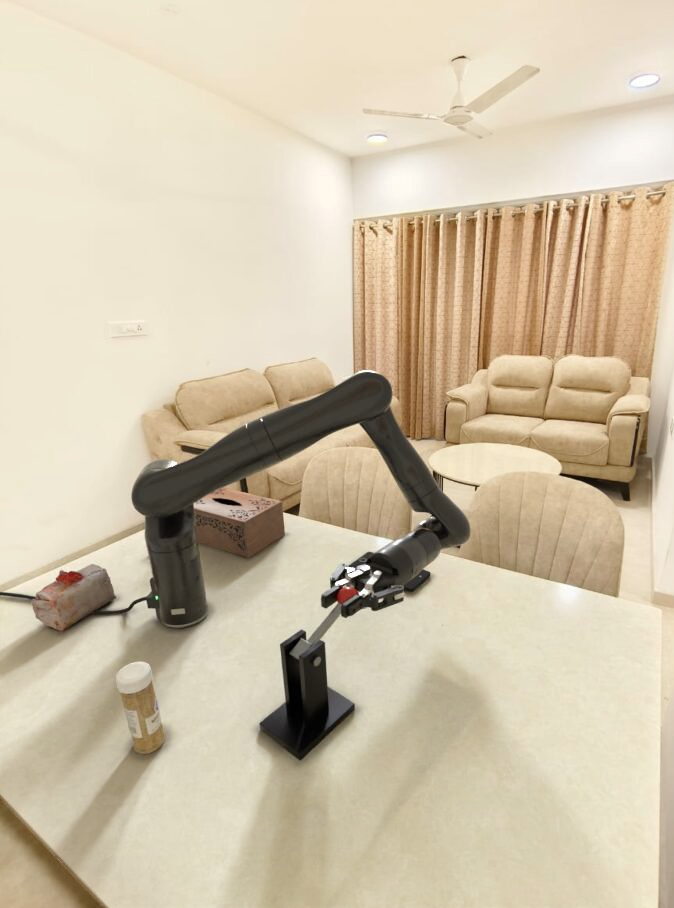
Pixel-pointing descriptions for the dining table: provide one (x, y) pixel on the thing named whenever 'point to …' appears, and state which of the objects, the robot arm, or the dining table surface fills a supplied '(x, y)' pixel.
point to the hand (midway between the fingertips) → (333, 607)
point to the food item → (73, 596)
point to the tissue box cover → (238, 521)
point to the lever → (324, 623)
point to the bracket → (305, 701)
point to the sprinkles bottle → (141, 706)
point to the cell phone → (409, 586)
